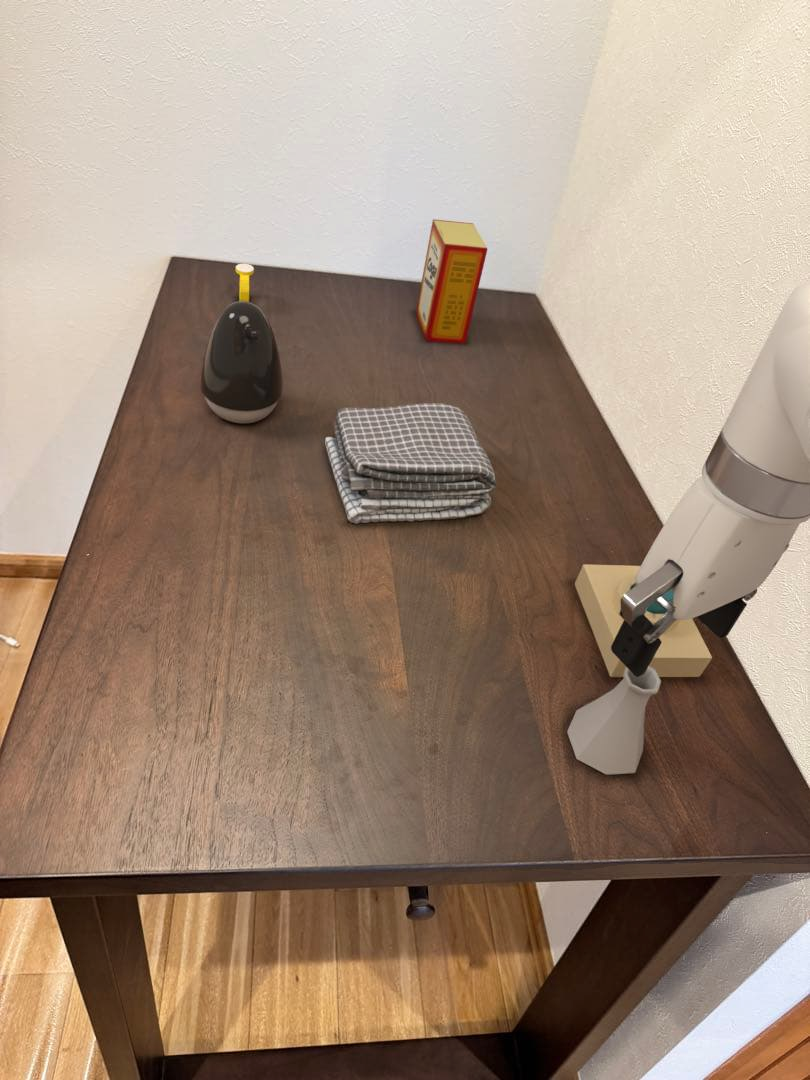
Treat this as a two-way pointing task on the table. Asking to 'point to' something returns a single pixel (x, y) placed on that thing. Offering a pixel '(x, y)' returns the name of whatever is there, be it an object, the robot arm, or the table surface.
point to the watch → (244, 280)
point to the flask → (614, 725)
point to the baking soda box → (450, 281)
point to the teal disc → (656, 607)
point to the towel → (409, 463)
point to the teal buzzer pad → (603, 604)
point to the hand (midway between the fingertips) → (669, 643)
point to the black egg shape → (242, 365)
